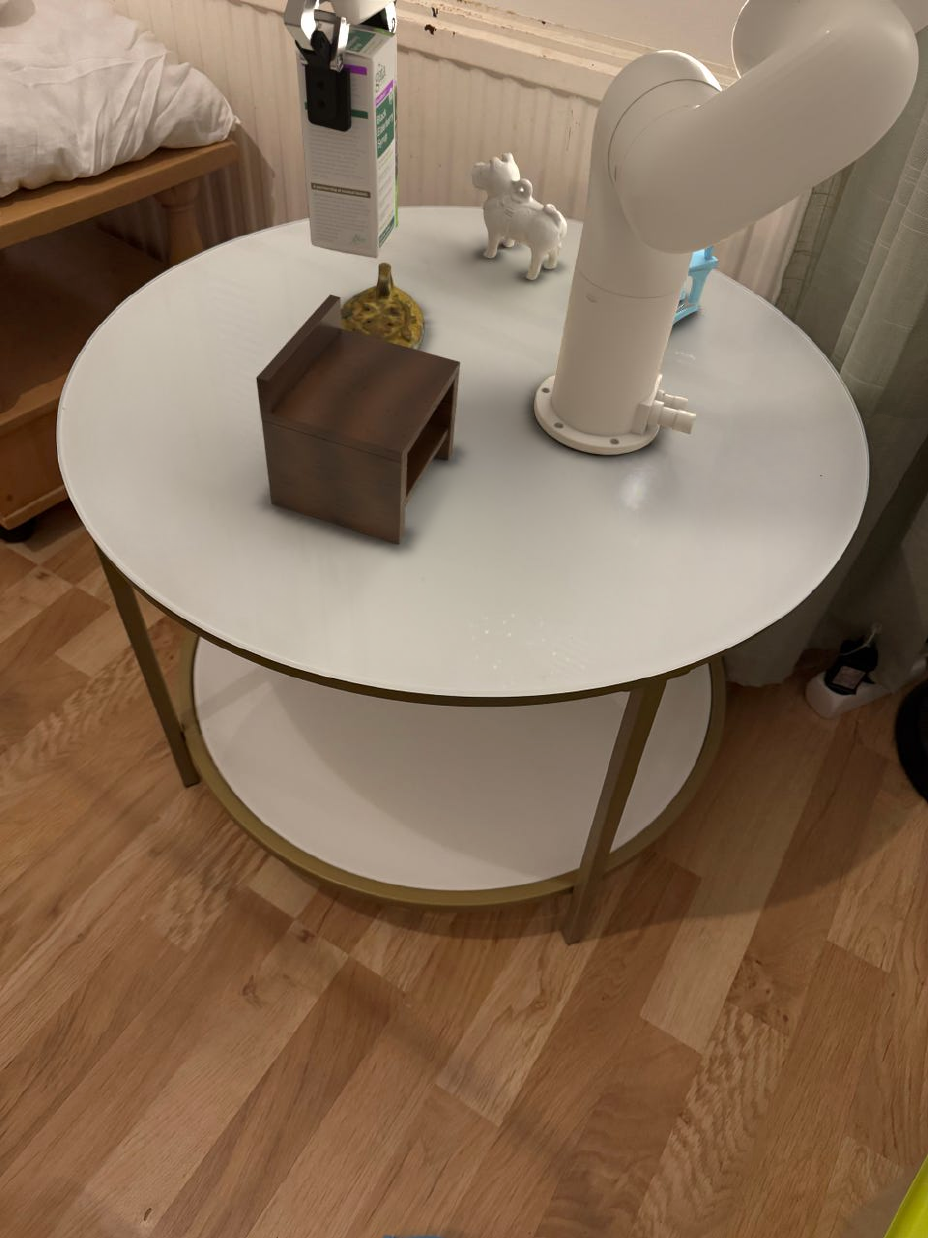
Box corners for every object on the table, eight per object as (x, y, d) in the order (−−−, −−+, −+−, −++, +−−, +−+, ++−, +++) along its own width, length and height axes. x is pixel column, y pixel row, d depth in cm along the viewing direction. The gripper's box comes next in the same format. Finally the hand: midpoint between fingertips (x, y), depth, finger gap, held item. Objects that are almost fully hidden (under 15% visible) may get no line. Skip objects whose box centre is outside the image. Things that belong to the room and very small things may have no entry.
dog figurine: (483, 229, 112) (492, 139, 104) (567, 269, 107) (582, 177, 99) (456, 243, 109) (462, 152, 101) (540, 285, 104) (554, 192, 96)
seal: (421, 382, 93) (422, 300, 102) (428, 343, 89) (429, 262, 98) (330, 368, 91) (339, 287, 100) (333, 328, 87) (343, 247, 97)
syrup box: (378, 260, 72) (377, 57, 61) (308, 246, 72) (293, 43, 61) (398, 227, 76) (401, 29, 64) (331, 214, 76) (322, 16, 65)
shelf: (452, 453, 84) (463, 330, 74) (399, 544, 76) (403, 420, 66) (335, 418, 86) (330, 293, 76) (270, 503, 78) (255, 377, 68)
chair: (710, 320, 102) (743, 216, 93) (651, 335, 99) (680, 230, 90) (670, 286, 107) (698, 183, 97) (612, 299, 104) (635, 195, 94)
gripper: (332, -188, 47) (344, 167, 60) (458, -231, 57) (444, 80, 71) (206, -211, 48) (245, 141, 62) (352, -248, 59) (358, 60, 72)
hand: (351, 106), depth 66 cm, fingers closed on syrup box, 6 cm apart
